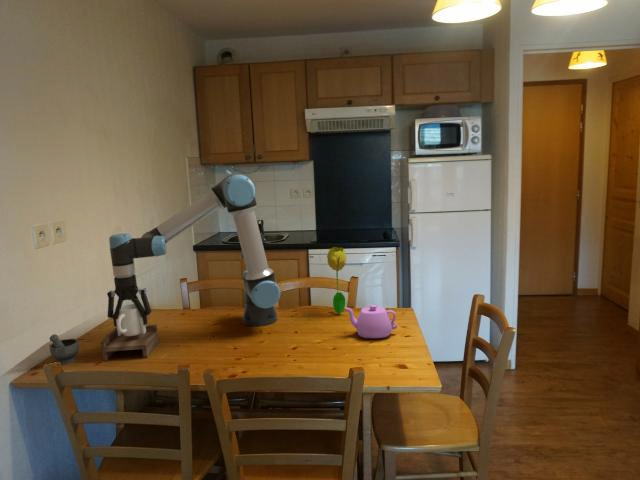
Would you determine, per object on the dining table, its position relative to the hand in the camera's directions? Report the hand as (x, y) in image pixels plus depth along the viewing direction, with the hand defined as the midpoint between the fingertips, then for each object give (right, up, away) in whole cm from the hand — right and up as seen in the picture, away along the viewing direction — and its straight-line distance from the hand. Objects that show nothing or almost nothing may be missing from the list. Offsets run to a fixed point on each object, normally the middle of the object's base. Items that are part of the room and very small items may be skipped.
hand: (132, 333), depth 183 cm
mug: (-1, 0, 0) cm, 1 cm away
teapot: (+91, -1, +4) cm, 91 cm away
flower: (+80, +2, +30) cm, 85 cm away
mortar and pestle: (-23, -10, -5) cm, 25 cm away
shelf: (-1, -7, +2) cm, 7 cm away
